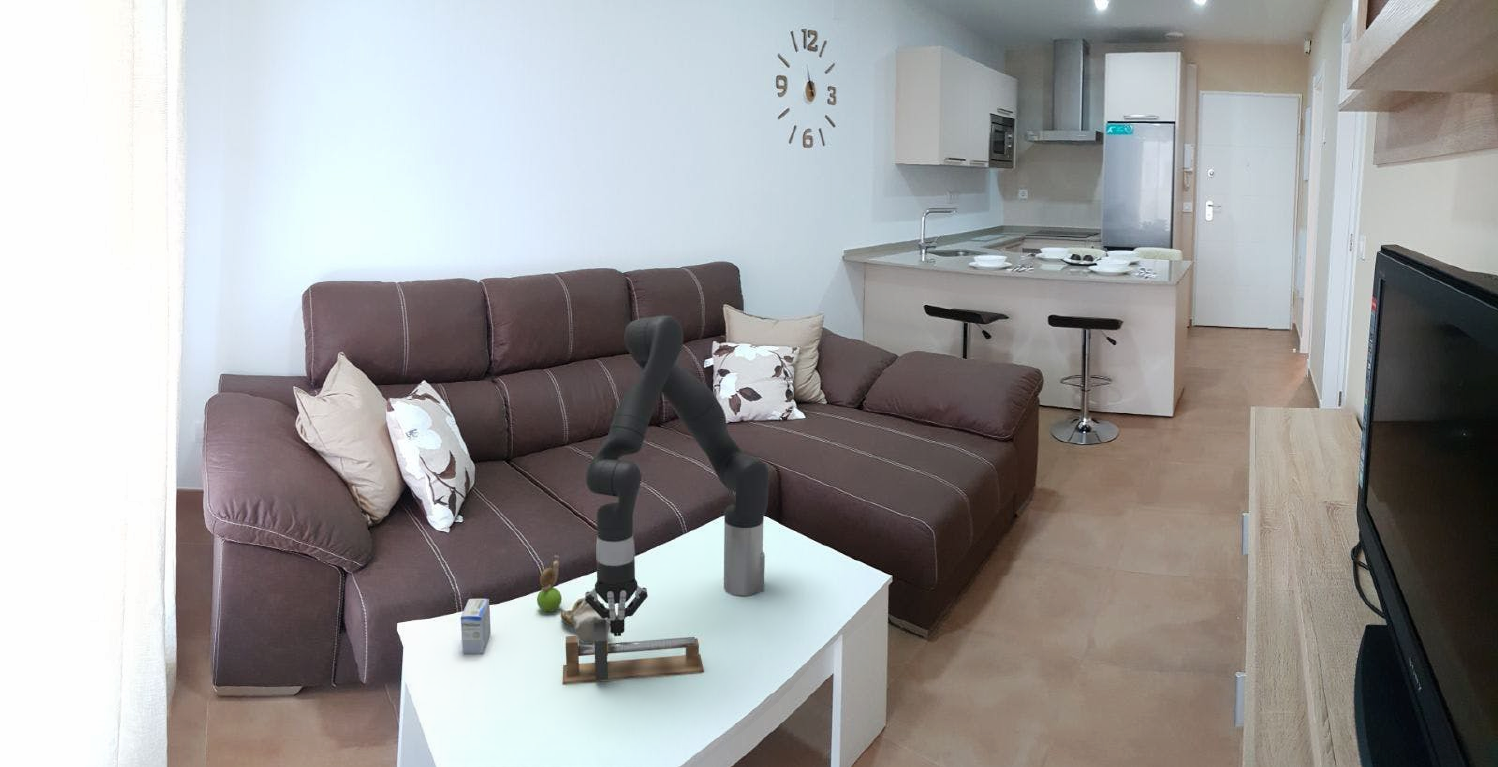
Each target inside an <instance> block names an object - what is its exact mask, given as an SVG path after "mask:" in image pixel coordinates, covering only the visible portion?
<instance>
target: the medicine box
mask: <svg viewBox="0 0 1498 767" xmlns="http://www.w3.org/2000/svg"><path fill="white" fill-rule="evenodd" d="M490 611H491V610H490V599H489V598H469V599H467V602H466V605H465V606H464V609H463V612H462V614H461V616H460V627H461V628H460V631H461V632H460V633H461V646H462V653H463V654H464V655H465V654H473V655H474V654H484V653H485V650H486V647H487V645H488V642H489V638H490V636H491V612H490Z"/></svg>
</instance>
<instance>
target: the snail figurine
mask: <svg viewBox="0 0 1498 767" xmlns="http://www.w3.org/2000/svg"><path fill="white" fill-rule="evenodd" d="M554 558H555V559H557V560H554V561H553V563H552V565H553V568H551V567H547V568H545V569H543V571H541V573H540V577H539V583H540V586H542V587H541V590H540V591H539V592H538V594H537V597H536V602H537V606H538V607H539V609H540V610H542V611H545V612H553V611H556V610H557V609H558V608H559V607H560V606H561V604H562V594H561V592H560V591H559V590H558V588H555V587H554V586H555V584H556V583H557V580H558V576H559V565H560V561H559V559H560V556H559V555H554Z"/></svg>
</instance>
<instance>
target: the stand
mask: <svg viewBox="0 0 1498 767" xmlns="http://www.w3.org/2000/svg"><path fill="white" fill-rule="evenodd" d="M578 646H579V638H578V635H577V634H576V635H567V636H566V635H565V660H566V661H565V662H566V663H565V664H563V665H562V685H571V684H583V683H584V684H585V683H593V682H595V683H596V682H605V681H607V682H608V681H618V680H620V681H621V680H630V679H641V678H652V677H665V676H666V677H667V676H679V675H688V674H689V675H690V674H702V673H705V668H704V664H703V660H702V656H701V654H700V644H699V639H698V637H695V644H694V645H687V648H685V655H684V654H683V655H672V656H660V657H659V656H658V657H647V658H634V659H622V660H621V659H620V660H610V661H609V660H607V662H608V679H602V680H596V677H595V662H586V663H580V660H579V657H580V656H578Z"/></svg>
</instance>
